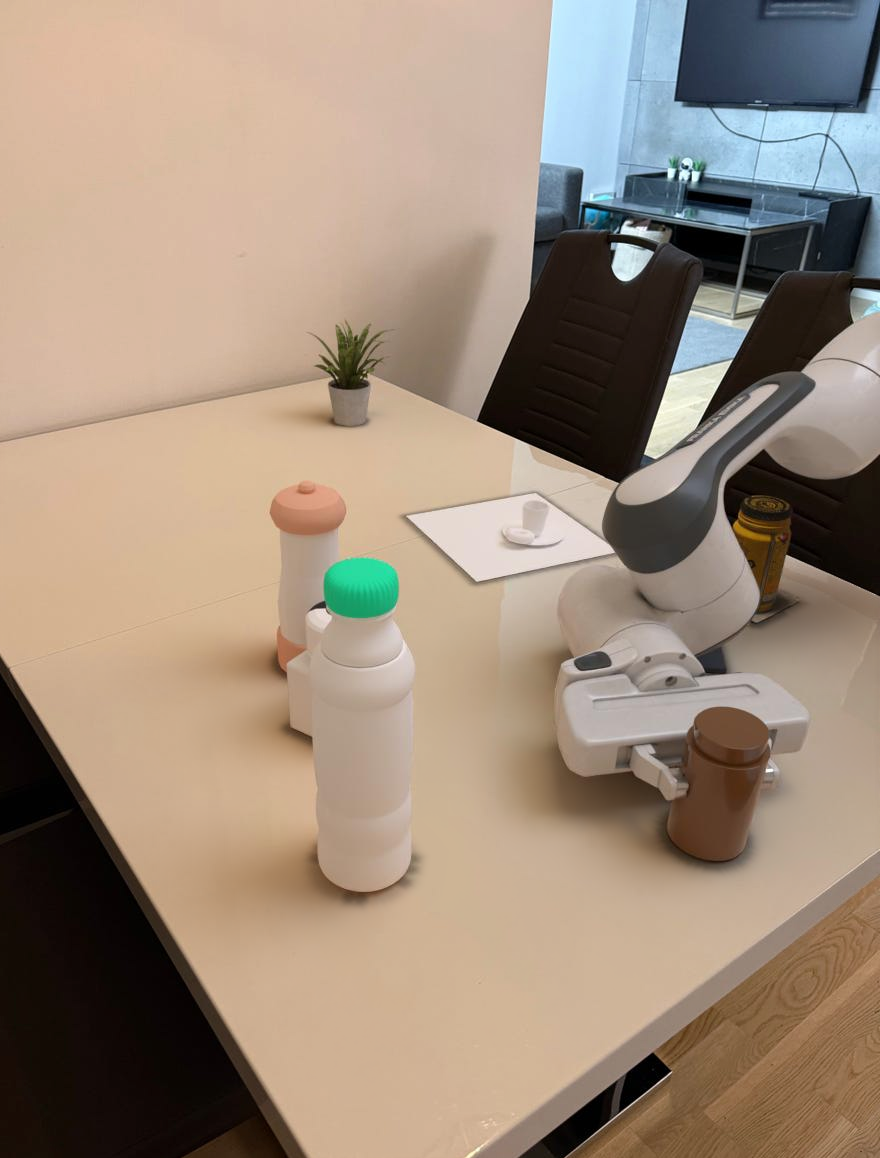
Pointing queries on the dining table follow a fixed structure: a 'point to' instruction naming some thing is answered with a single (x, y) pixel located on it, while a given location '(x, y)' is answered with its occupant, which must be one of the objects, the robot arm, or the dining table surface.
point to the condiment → (766, 548)
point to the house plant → (350, 376)
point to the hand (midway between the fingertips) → (724, 787)
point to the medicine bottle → (305, 671)
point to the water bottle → (362, 729)
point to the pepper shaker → (304, 557)
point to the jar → (720, 783)
